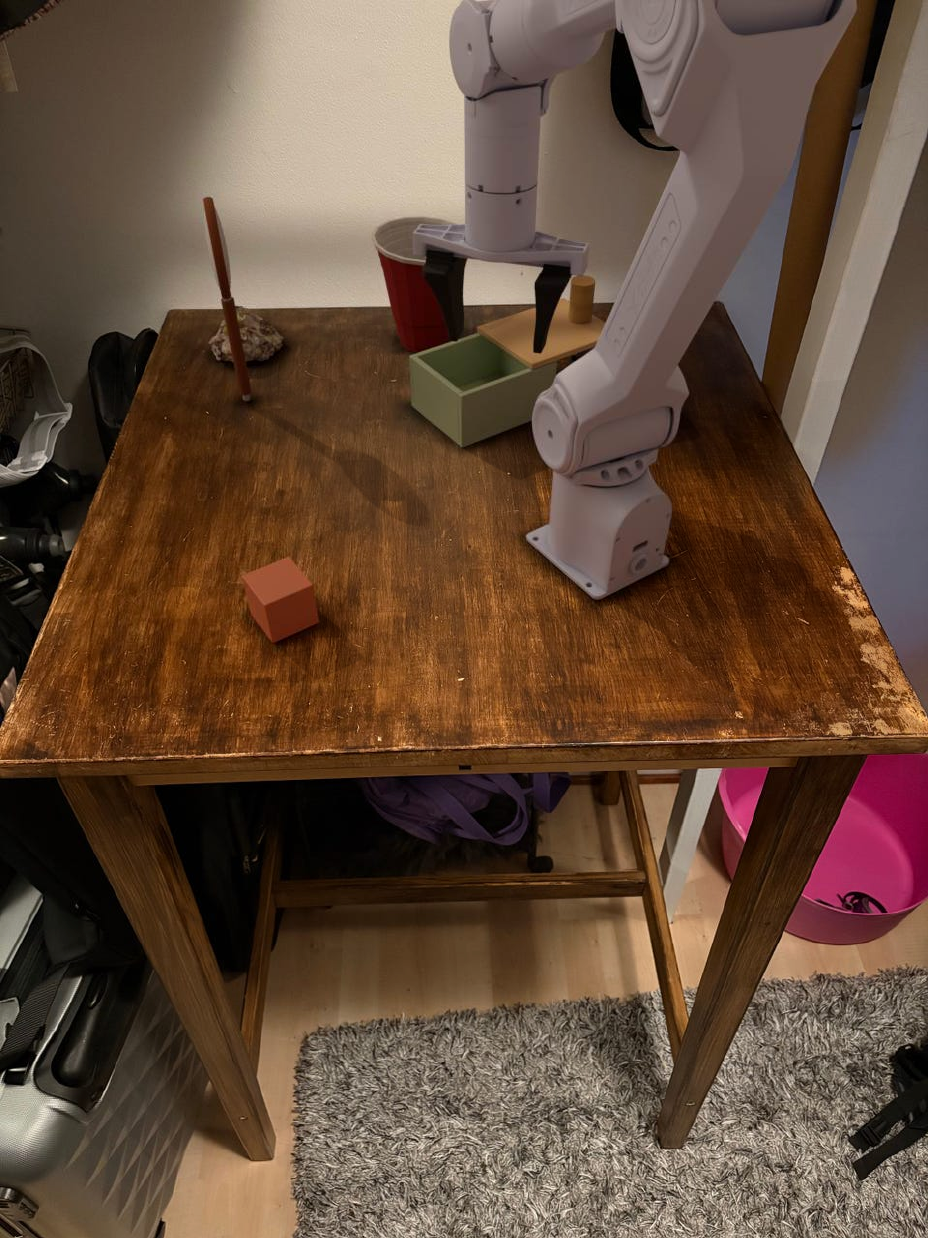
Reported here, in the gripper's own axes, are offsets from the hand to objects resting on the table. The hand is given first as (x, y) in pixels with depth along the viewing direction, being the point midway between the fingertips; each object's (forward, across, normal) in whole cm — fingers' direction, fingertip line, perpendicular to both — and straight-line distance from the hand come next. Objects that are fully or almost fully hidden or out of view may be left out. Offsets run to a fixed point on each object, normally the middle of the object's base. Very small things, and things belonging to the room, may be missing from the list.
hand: (497, 341), depth 80 cm
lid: (+5, -2, -11) cm, 13 cm away
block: (+10, +9, +28) cm, 31 cm away
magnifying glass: (+10, +26, 0) cm, 29 cm away
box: (+10, +3, -5) cm, 12 cm away
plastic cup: (+10, +13, -17) cm, 24 cm away
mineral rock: (+10, +32, -10) cm, 35 cm away
